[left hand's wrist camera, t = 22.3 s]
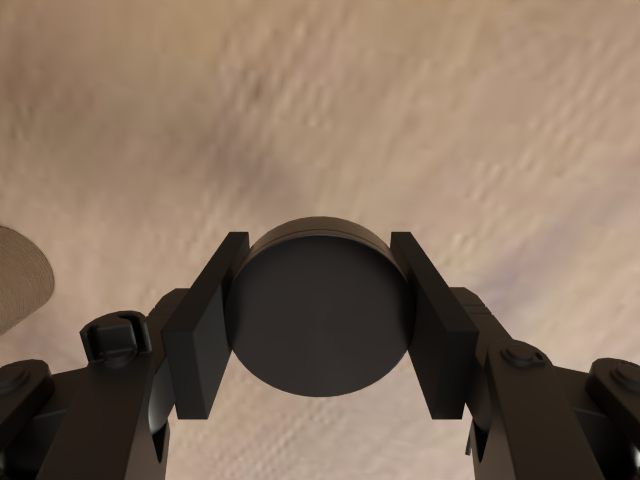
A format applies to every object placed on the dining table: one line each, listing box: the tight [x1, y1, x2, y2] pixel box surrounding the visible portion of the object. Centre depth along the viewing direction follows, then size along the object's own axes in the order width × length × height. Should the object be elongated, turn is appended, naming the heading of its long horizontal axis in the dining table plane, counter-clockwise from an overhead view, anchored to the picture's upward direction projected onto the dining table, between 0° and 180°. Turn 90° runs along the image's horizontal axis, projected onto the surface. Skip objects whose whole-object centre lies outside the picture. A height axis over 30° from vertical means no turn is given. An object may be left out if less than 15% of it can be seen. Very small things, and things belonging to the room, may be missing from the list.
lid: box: [224, 217, 416, 397], centre depth 11 cm, size 6×6×2 cm
